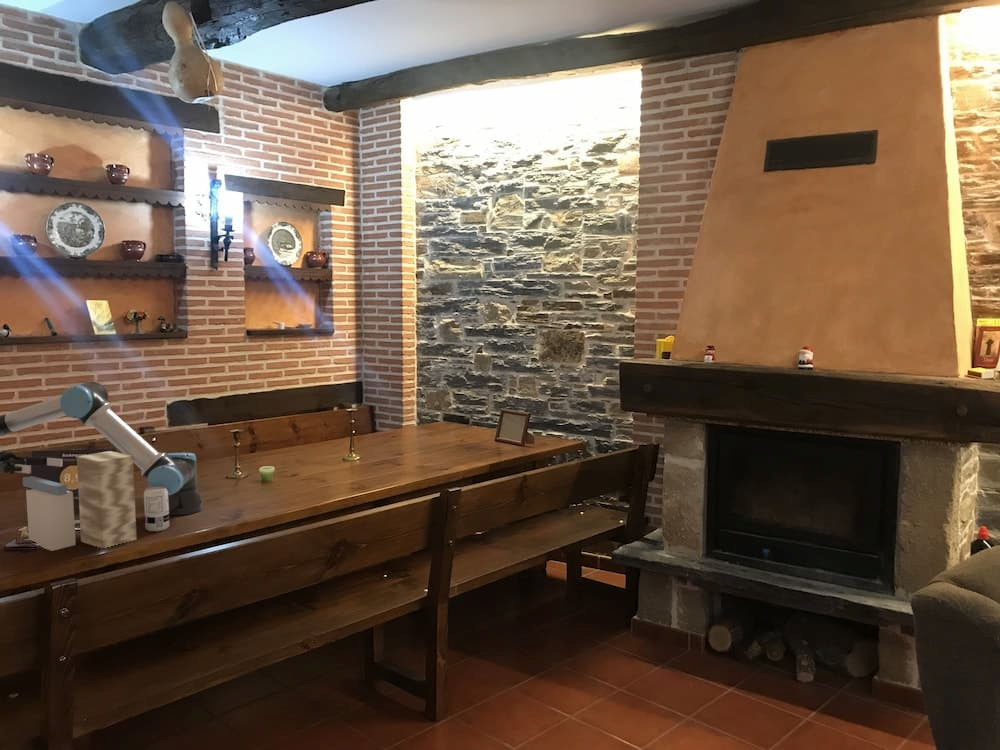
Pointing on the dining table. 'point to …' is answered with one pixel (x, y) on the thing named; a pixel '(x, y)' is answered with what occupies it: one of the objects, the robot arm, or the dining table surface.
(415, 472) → the dining table surface
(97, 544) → the birch stand
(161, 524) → the supplement can
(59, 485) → the slate bar
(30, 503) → the white step
